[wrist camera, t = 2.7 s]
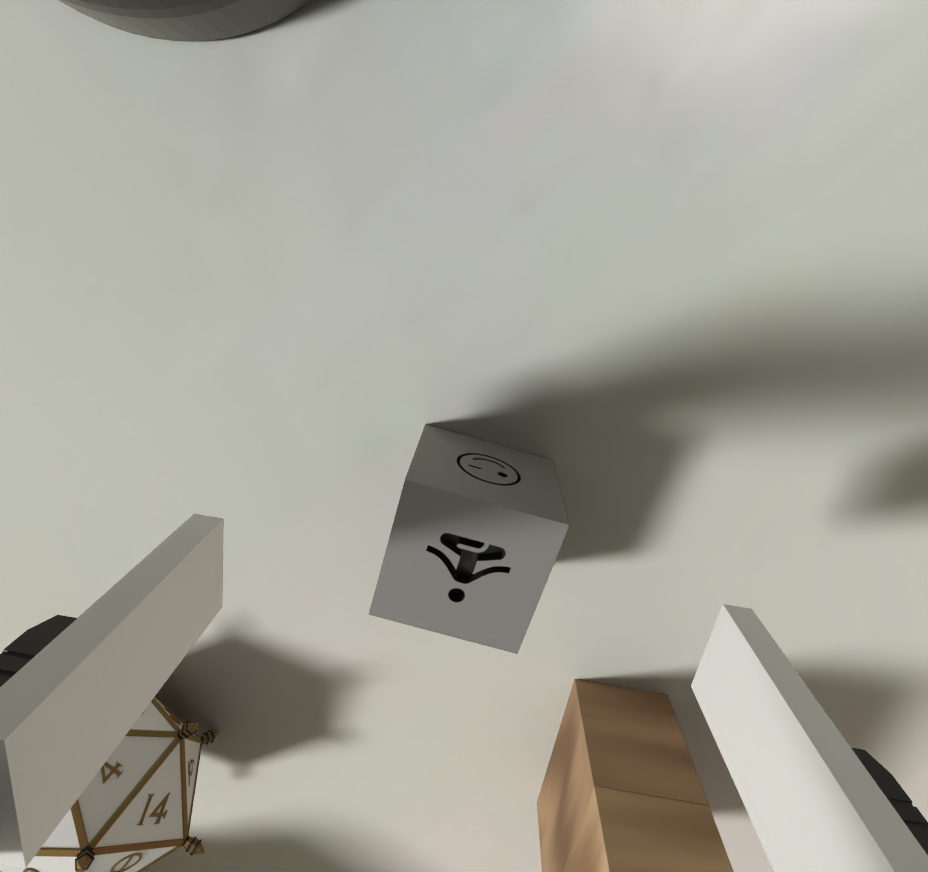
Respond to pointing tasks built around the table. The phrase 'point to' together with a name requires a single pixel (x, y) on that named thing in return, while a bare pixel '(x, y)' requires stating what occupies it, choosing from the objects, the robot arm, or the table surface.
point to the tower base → (610, 760)
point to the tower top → (645, 836)
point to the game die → (131, 802)
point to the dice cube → (471, 540)
